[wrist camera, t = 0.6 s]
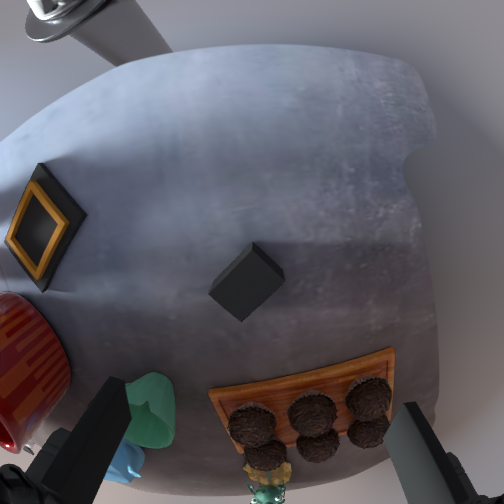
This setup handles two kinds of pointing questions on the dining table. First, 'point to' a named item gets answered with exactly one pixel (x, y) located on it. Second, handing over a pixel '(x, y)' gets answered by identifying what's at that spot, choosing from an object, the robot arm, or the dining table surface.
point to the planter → (27, 371)
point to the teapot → (125, 462)
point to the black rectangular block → (247, 282)
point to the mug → (151, 411)
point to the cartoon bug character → (269, 483)
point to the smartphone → (28, 450)
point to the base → (43, 226)
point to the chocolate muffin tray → (309, 410)
